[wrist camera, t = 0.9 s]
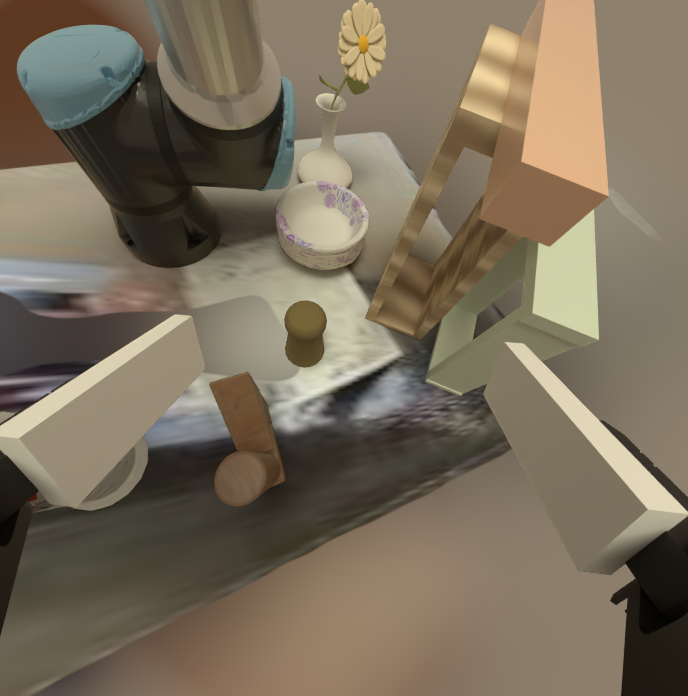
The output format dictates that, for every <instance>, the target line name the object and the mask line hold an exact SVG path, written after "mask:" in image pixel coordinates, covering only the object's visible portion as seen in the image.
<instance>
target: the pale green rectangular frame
mask: <svg viewBox="0 0 688 696" xmlns="http://www.w3.org/2000/svg"><path fill="white" fill-rule="evenodd" d="M523 277H524V284H523V293H522V302H521V307H519V308H518V309H516V310H515V311H514V312H512V313H511V314H509V315H508V316H506V317H505V318H504V319H502V320H501V321H499V322H498V323H496V324H495V325H494V326H492V327H491V328H489V329H488V330H486V331H485V332H484V333H482V334H481V335H479V336H478V337H476V338H475V339H474V340H473V335H474V330H475V325H476V320H477V315H478V314H479V313H481V312H482V311H483V310H484V309H485V308H487V307H488V306H489V305H490V304H492V303H493V302H494V301H495V300H496V299H498V298H499V297H500V296H501V295H502V294H503V293H505V292H506V291H507V290H509V289H510V288H511V287H512V286H513V285H515V284H516V283H517V282H518V281H519V280H521V279H522V278H523ZM596 279H597V278H596V252H595V226H594V209H593V210H592V211H591V212H590V213H589V214H587V215H586V216H585V217H584V218H583V219H582V220H580V221H579V222H578V223H577V224H576V225H575V226H573V227H572V228H571V229H570V230H569V231H568V232H566V233H565V234H564V235H563V236H562V237H561V238H559V239H558V240H557V241H556V242H555V243H554V244H552V245H551V246H550V247H548V246H546V245H543V244H541V243H538V242H536V241H533V240H531V239H528V238H526V237H522V238H521V239H520V240H519V241H518V242H517V243H516V244H515V245H514V246H513V247H512V248H511V249H510V250H509V251H508V252H507V253H506V254H505V255H504V256H503V257H502V258H501V259H500V260H499V261H498V262H497V263H496V264H495V265H494V266H493V267H492V268H491V269H490V270H489V271H488V272H487V273H486V274H485V275H484V276H483V277H482V278H481V279H480V280H479V281H478V282H477V283H476V284H475V285H474V286H473V287H472V288H471V289H470V290H469V291H468V292H467V294H466V295H465V296H464V297H463V298H462V299H461V300H460V301H459V302H458V303H457V304H456V305H455V306H454V307H453V308H452V309H451V310H450V311H449V312H448V313H447V314H446V315H445V316H444V317H443V318H442V319H441V320H440V323H439V327H438V331H437V335H436V339H435V343H434V346H433V350H432V354H431V358H430V362H429V366H428V370H427V373H426V377H425V381H424V382H426V383H428V384H431V385H433V386H436V387H438V388H440V389H443V390H445V391H448V392H450V393H453V394H455V395H457V396H461V395H462V394H463V393H465V392H468V391H470V390H473V389H475V388H478V387H480V386H482V385H485V384H487V383H488V381H489V379H490V376H491V374H492V372H493V369H494V367H495V364H496V362H497V359H498V357H499V354H500V352H501V349H502V347H503V344H504V342H511V343H523V344H525V345H526V346H527V347H528V348H529V349H530V350H531V351H532V352H533V353H534V354H535V355H536V356H537V357H538V359H539V360H540V361H543V360H546V359H548V358H550V357H553V356H555V355H558V354H560V353H562V352H565V351H567V350H570V349H572V348H575V347H577V346H581V347H583V346H585V345H588V344H590V343H593V342H595V341H598V340H599V330H598V305H597V280H596Z"/></svg>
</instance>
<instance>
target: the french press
mask: <svg viewBox="0 0 688 696" xmlns="http://www.w3.org/2000/svg"><path fill="white" fill-rule="evenodd" d="M13 415H14V413H9V412H0V423H1V422H3V421H5V420H6V419H8V418H9V417H11V416H13ZM147 463H148V445H147V443H146V441H145V439H144V437H143V436H142V437H141V439H140V440H139V441H138V442H137V443H136V444H135V445H134V446H133V447H132V448H131V449H130V450H129V451H128V453H127V454H126V455H125V456H124V457H123V458H122V459H121V460H120V461H119V462H118V463H117V464H116V466H115V467H114V468H113V469H112V470H111V471H110V472H109V473H108V474H107V475H106V476H105V477H104V478H103V480H102V481H101V482H100V483H99V484H98V485H97V486H96V487H95V488H94V489H93V490H92V491H91V492H90V494H89V495H88V496H87V497H86V498H85V499H84V500H83V501H82V502H81V503H80V504H79V505H78V506H77V508H76V507H72V508H74V509H81V510H89V511H92V510H96V509H100V508H104V507H107V506H111V505H112V504H114V503H115V502H117V501H118V500H120V499H121V498H123V497H125V496H126V495H128V494H129V493H130V491H131V490H132V489H133V488H134V487H135V485H136V484H137V483H138V482H139V481H140V479H141V478H142V475H143V473H144V470H145V468H146V465H147ZM28 502H29V503H30V504H31V505H32V513H34V512H39V511H45V510H50V509H54V508H60V507H61V505H54V506H50V505H53V504H50V503H49V502H48V501H47V500H46V499H45V498H44V497H43V496H42V495H41V494H40V492H39V491H38V492H37V493H36V494H35V495H34V496H33V497H32V498H31V499H30V500H28ZM39 507H50V508H48V509H47V508H39ZM62 507H65V506H62Z"/></svg>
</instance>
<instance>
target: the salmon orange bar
mask: <svg viewBox="0 0 688 696" xmlns="http://www.w3.org/2000/svg"><path fill="white" fill-rule="evenodd" d="M608 196H609V194H608V181H607V168H606V155H605V142H604V129H603V115H602V103H601V89H600V75H599V62H598V49H597V36H596V23H595V9H594V1H593V0H539V2H538V4H537V6H536V8H535V10H534V12H533V14H532V15H531V18H530V19H529V21H528V24H527V25H526V27H525V29H524V31H523V33H522V35H521V38H520V42H519V47H518V51H517V55H516V60H515V64H514V69H513V73H512V77H511V82H510V86H509V90H508V95H507V99H506V104H505V108H504V112H503V117H502V121H501V125H500V130H499V134H498V138H497V143H496V147H495V152H494V156H493V160H492V165H491V169H490V173H489V178H488V182H487V187H486V191H485V195H484V200H483V204H482V208H481V213H480V217H479V219H481V220H484V221H486V222H489V223H491V224H494V225H496V226H499V227H501V228H503V229H506V230H508V231H511V232H513V233H516V234H518V235H521V236H523V237H526V238H528V239H531V240H533V241H536V242H538V243H541V244H543V245H546V246H548V247H550V246H551V245H552V244H554V243H555V242H556V241H557V240H558V239H559V238H561V237H562V236H563V235H564V234H565V233H566V232H568V231H569V230H570V229H571V228H572V227H573V226H575V225H576V224H577V223H578V222H579V221H580V220H582V219H583V218H584V217H585V216H586V215H587V214H589V213H590V212H591V211H592V210H593V209H594V208H596V207H597V206H598V205H599V204H600V203H601V202H603V201H604V200H605V199H606V198H607V197H608Z"/></svg>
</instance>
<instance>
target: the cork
mask: <svg viewBox="0 0 688 696" xmlns="http://www.w3.org/2000/svg"><path fill="white" fill-rule="evenodd" d="M284 320H285V327H286V329H287V331H288V337H287V342H286V347H285V351H286V355H287V357H288V359H289V360H290V361H291V362H292V363H293V364H295V365H297V366H299V367H311V366H313V365H315V364H317V363H318V362H319V361H320V360H321V358H322V357H323V354H324V344H323V337H322V334H323V332H324V330H325V328H326V323H327V320H326V315H325V313H324V311H323V309H322V308H321V307H320V306H319V305H318V304H316V303H314V302H311V301H300V302H297V303H294V304H293V305H292V306H290V308H289V309H288V310H287V312H286V315H285V319H284Z"/></svg>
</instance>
